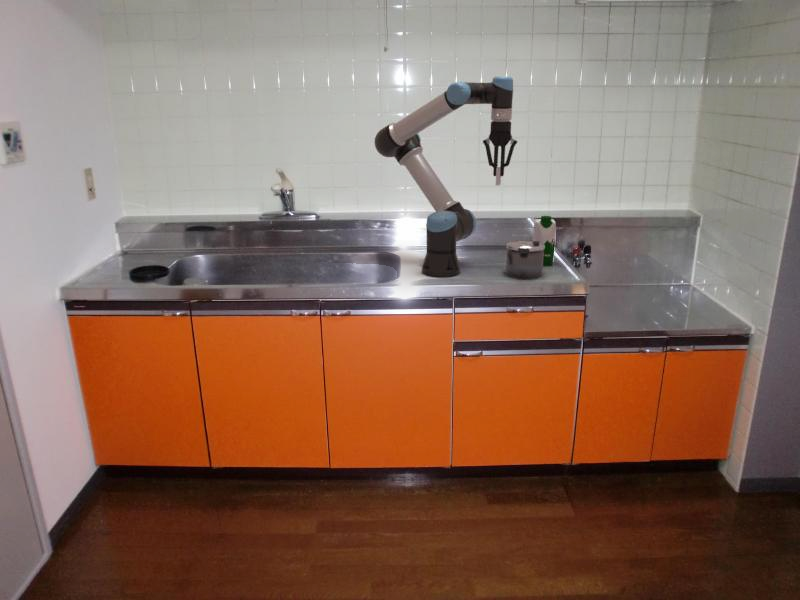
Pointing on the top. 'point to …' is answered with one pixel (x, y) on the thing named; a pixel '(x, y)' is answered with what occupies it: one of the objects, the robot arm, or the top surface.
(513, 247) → the cooker lid
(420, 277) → the top surface
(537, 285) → the top surface
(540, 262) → the cooker pot
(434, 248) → the robot arm
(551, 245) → the milk carton
